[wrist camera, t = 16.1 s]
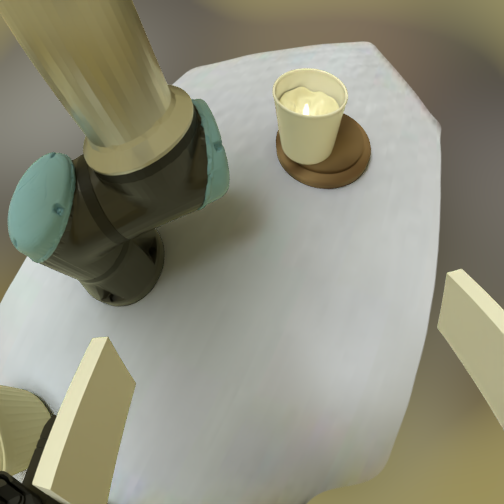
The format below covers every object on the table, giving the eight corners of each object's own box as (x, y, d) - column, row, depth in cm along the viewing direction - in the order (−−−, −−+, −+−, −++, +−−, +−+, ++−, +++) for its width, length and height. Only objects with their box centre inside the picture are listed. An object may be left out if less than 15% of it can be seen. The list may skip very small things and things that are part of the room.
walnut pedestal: (257, 154, 52) (255, 142, 49) (311, 103, 55) (311, 90, 52) (336, 207, 48) (339, 196, 44) (383, 145, 50) (388, 133, 47)
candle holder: (282, 117, 50) (280, 64, 39) (340, 127, 48) (349, 74, 37) (270, 163, 47) (265, 110, 36) (334, 175, 46) (345, 123, 34)
